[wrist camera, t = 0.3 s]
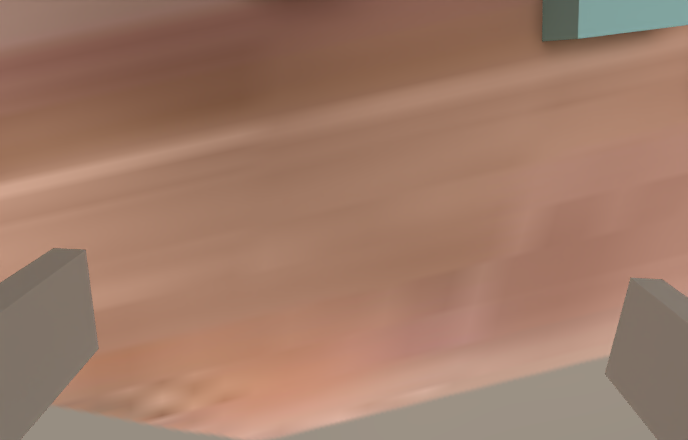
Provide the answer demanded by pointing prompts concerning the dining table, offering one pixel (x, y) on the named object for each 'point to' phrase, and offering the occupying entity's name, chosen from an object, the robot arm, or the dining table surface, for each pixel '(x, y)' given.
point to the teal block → (609, 17)
